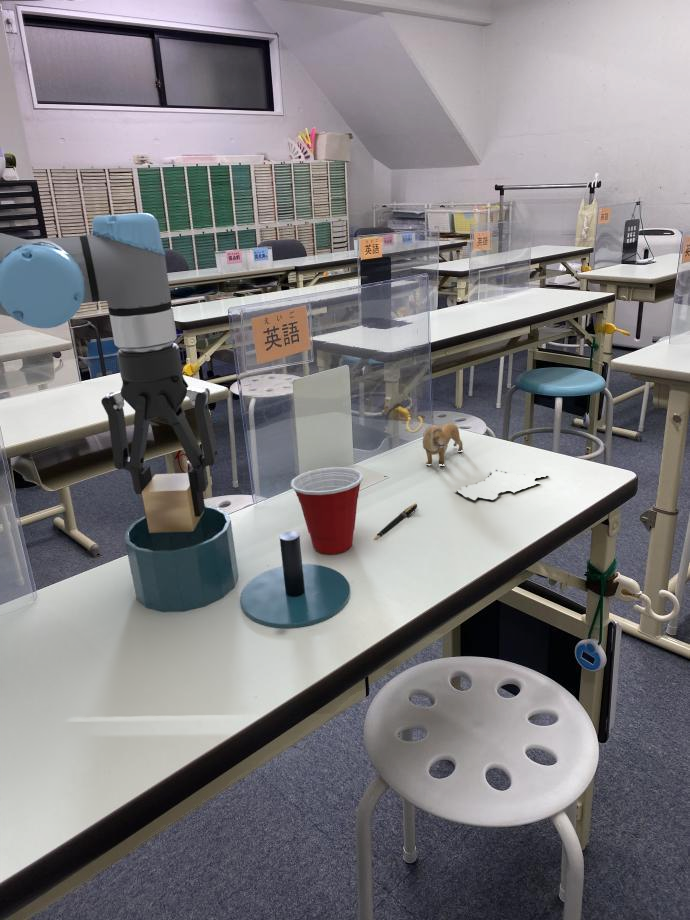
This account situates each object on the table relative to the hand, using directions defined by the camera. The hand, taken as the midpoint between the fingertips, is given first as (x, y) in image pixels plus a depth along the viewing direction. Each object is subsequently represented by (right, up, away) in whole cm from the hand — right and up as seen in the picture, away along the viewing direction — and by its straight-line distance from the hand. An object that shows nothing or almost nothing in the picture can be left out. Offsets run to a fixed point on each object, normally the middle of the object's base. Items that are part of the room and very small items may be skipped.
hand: (175, 512), depth 93 cm
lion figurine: (+43, +7, +42) cm, 61 cm away
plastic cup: (+21, -7, +12) cm, 25 cm away
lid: (+16, -11, -1) cm, 20 cm away
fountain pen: (+31, -4, +18) cm, 37 cm away
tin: (+1, -11, +4) cm, 12 cm away
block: (0, -1, +1) cm, 1 cm away
